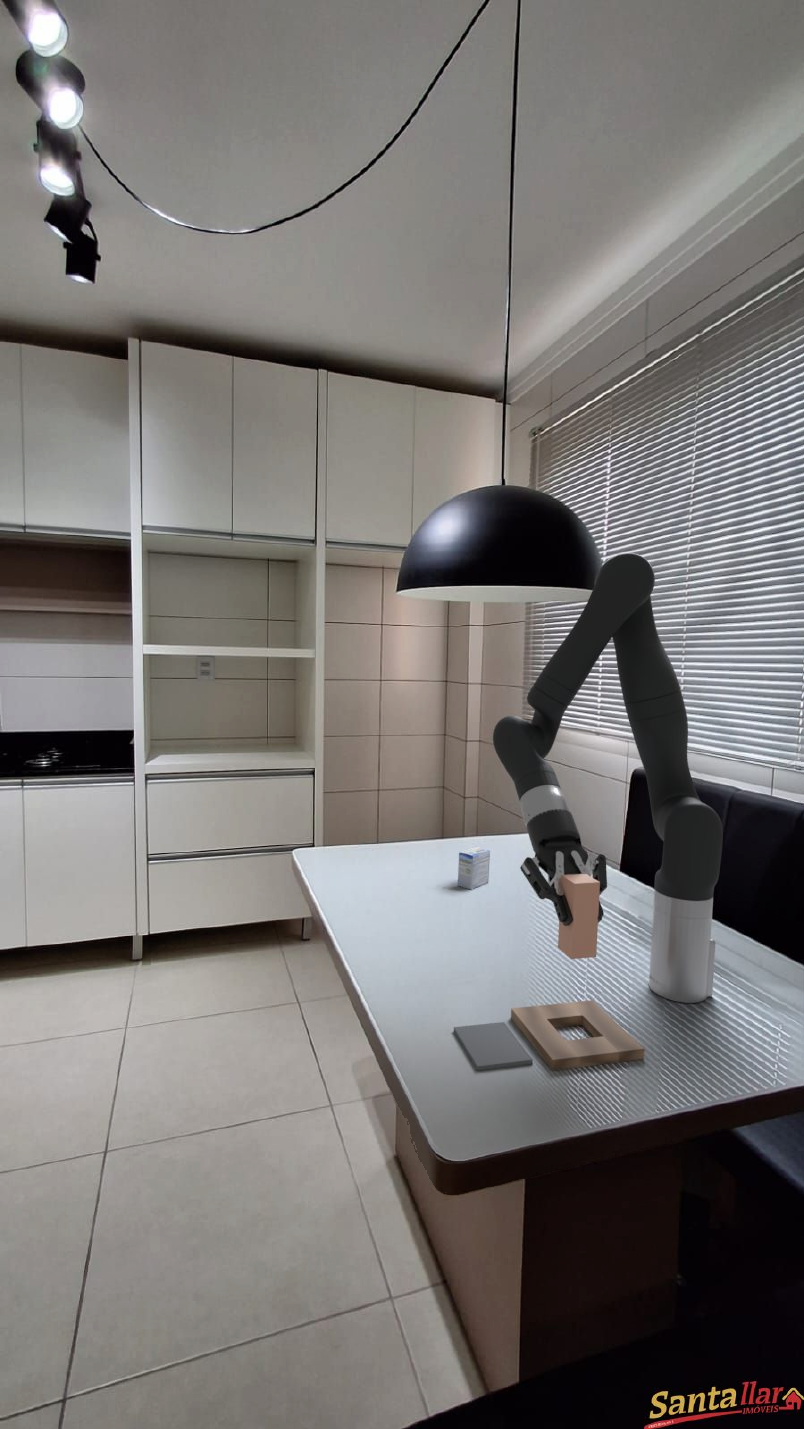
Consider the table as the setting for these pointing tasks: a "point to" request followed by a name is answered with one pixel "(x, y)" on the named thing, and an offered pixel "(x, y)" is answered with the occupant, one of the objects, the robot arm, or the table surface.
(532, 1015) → the puzzle board
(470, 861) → the medicine box
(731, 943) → the table surface
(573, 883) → the block
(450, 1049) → the table surface
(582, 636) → the robot arm
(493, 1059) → the mat
